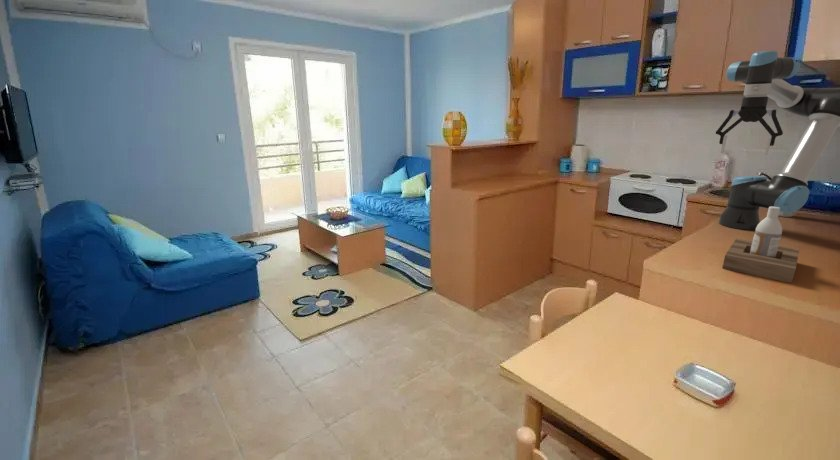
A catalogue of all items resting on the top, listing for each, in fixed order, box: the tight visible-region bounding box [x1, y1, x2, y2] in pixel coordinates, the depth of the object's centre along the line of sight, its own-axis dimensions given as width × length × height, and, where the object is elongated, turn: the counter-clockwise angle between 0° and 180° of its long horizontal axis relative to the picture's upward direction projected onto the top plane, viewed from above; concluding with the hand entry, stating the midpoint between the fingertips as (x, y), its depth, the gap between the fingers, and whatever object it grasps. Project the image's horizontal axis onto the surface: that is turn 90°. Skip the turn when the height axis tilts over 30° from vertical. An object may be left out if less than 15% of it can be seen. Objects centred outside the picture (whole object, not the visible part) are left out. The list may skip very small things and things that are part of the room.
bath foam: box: [750, 206, 783, 258], centre depth 138 cm, size 7×7×20 cm
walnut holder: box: [721, 238, 800, 284], centre depth 141 cm, size 24×18×5 cm
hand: (743, 153), depth 157 cm, fingers open, 13 cm apart
